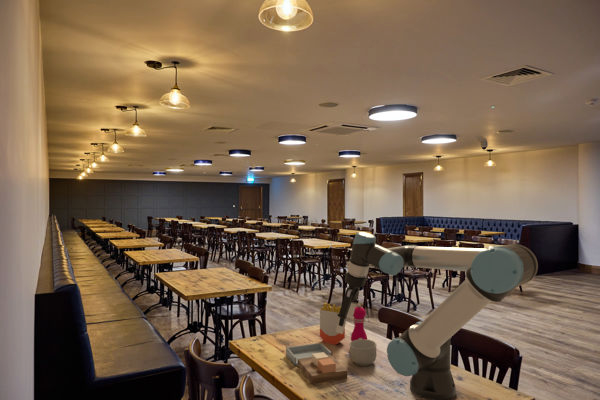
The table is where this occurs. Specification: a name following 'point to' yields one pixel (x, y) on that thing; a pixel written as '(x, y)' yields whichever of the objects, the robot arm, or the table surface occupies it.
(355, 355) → the teacup
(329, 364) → the orange square block
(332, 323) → the french fries container
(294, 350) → the tray
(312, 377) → the walnut board
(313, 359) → the cream square block
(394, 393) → the table surface
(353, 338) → the pepper mill
